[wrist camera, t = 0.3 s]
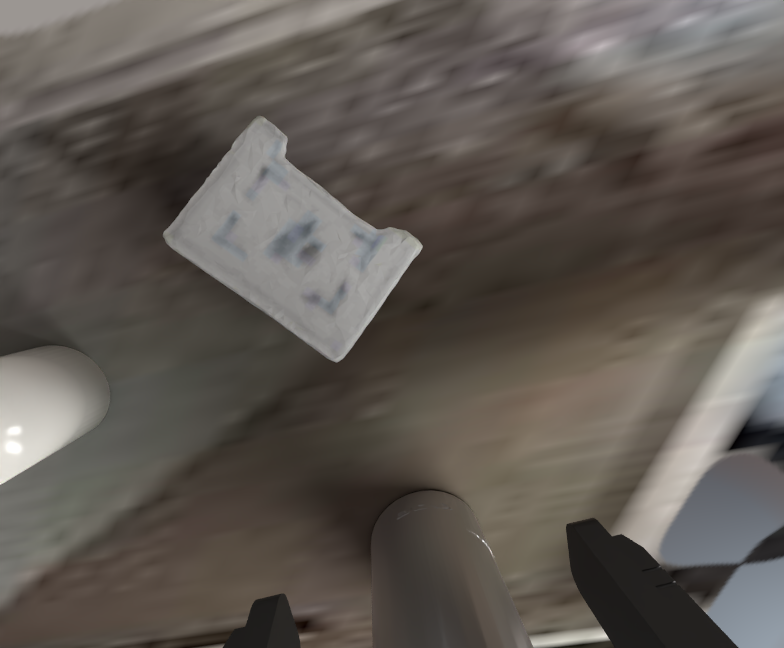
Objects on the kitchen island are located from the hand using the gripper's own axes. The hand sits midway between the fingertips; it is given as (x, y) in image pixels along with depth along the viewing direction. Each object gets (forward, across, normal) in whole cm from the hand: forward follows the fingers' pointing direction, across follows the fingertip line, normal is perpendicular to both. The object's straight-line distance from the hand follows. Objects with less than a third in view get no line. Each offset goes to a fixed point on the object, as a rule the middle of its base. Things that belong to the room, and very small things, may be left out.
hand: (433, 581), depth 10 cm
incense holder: (+19, -3, +9) cm, 21 cm away
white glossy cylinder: (+18, -24, +4) cm, 30 cm away
